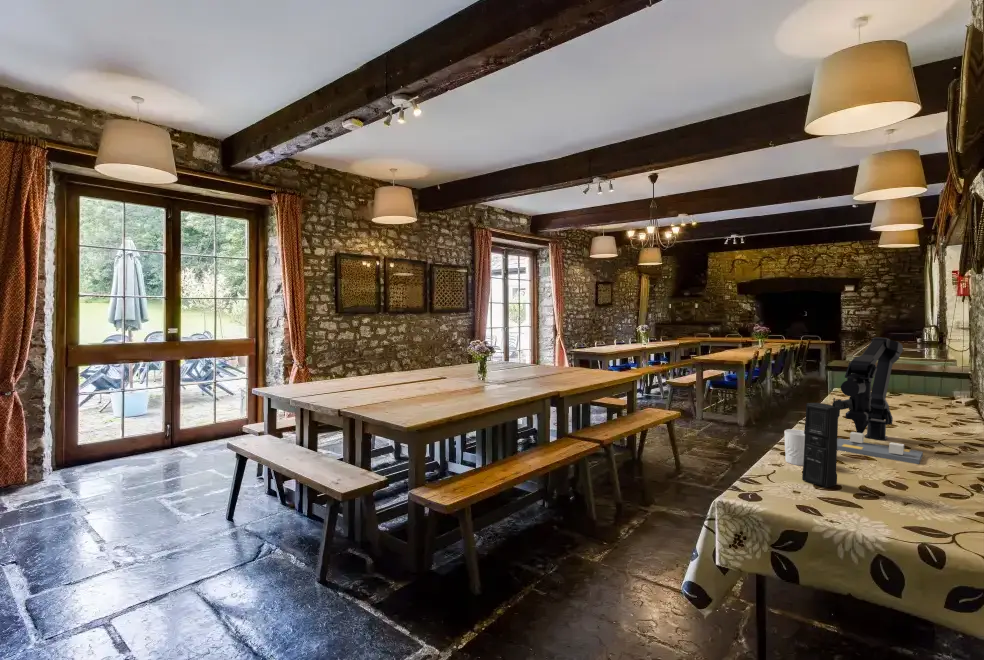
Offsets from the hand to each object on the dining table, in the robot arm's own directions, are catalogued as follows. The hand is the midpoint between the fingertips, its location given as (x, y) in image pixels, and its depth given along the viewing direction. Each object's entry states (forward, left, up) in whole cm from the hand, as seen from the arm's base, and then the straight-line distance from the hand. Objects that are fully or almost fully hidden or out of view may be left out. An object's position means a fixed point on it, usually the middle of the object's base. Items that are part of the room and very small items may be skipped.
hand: (859, 435), depth 183 cm
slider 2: (+14, +12, -1) cm, 18 cm away
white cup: (+43, -10, -3) cm, 44 cm away
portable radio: (+60, -1, -3) cm, 60 cm away
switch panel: (+10, +6, -3) cm, 12 cm away
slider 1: (+6, 0, -1) cm, 6 cm away
